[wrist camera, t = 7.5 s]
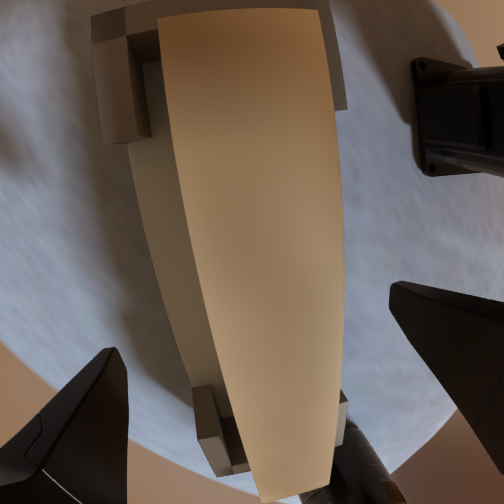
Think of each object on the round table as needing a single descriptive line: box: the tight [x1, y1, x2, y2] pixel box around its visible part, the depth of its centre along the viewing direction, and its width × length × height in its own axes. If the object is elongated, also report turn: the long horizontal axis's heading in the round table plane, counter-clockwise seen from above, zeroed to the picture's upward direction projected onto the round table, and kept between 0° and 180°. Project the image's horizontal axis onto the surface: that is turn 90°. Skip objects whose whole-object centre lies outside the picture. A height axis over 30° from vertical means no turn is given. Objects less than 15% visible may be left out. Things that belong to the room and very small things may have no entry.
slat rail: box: [91, 0, 348, 477], centre depth 12 cm, size 7×21×4 cm, turn 7°
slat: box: [157, 8, 344, 503], centre depth 10 cm, size 3×16×6 cm, turn 7°
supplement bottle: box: [298, 426, 407, 504], centre depth 16 cm, size 7×7×12 cm
